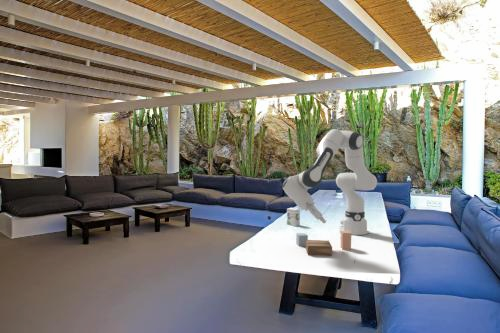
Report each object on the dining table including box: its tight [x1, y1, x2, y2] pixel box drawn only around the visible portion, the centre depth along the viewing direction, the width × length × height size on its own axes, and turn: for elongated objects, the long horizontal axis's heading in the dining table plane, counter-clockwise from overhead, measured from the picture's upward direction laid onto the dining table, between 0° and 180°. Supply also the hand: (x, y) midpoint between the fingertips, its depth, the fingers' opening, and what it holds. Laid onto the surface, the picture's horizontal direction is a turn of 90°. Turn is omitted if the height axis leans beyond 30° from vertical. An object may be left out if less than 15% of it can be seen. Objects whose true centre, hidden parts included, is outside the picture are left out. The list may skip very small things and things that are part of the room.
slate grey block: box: [295, 232, 309, 247], centre depth 190 cm, size 5×5×6 cm
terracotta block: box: [340, 231, 352, 251], centre depth 185 cm, size 4×4×9 cm
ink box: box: [286, 207, 301, 227], centre depth 243 cm, size 9×5×12 cm, turn 37°
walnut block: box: [305, 239, 333, 257], centre depth 177 cm, size 12×12×5 cm
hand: (323, 220), depth 185 cm, fingers open, 8 cm apart
